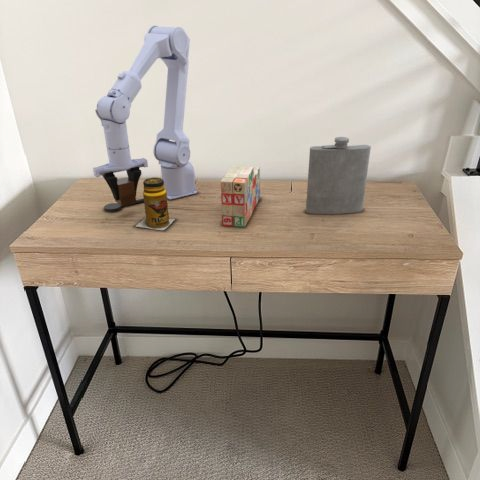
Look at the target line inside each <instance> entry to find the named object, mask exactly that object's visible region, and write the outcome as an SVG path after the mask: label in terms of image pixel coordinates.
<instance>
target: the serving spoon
mask: <svg viewBox="0 0 480 480" xmlns="http://www.w3.org/2000/svg"><path fill="white" fill-rule="evenodd" d="M140 203H144V198H143V197H142V198H138V199H136V203H134V204H130V205H126V206H120V205H119V204H118V203H117V202H110V203H107V204H105V205H104V206H103V208H104V211H105V212H106V213H117V212H120V210H122V208H124V207H128V206H132V205H136V204H137V205H138V204H140Z"/></svg>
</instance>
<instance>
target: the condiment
mask: <svg viewBox="0 0 480 480" xmlns="http://www.w3.org/2000/svg"><path fill="white" fill-rule="evenodd" d="M142 184H143V191H142V196H143V197H142V199H143V198H144V202H143V204H144V213H145V217H144V218H143V219H142V220H141V221H140V222H138V223H137V224H136V225H135V226H134V227H135V228H143V229H150V230H155V231H156V230H157V231H166V229H167V228H168V227H169V226H171V224H173V222H174V221H175V220H176V219H175V218H170V213H169V205H168V198H167V193H166V190H165V186H164V181H163V179H162V177H148V178H145V179H144V180H143V182H142Z"/></svg>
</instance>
